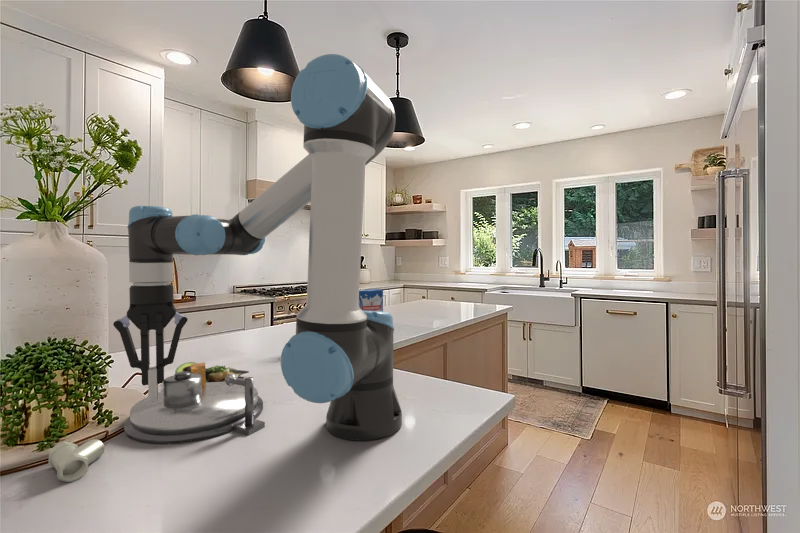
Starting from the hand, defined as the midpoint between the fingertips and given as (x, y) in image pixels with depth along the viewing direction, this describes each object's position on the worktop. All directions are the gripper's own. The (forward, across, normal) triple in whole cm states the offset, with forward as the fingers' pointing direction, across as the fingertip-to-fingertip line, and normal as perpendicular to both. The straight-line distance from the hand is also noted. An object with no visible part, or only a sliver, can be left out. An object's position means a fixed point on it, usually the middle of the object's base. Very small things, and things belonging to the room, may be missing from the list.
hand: (153, 399), depth 81 cm
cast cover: (+1, -5, 0) cm, 5 cm away
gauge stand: (+5, -16, +10) cm, 19 cm away
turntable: (+3, -8, 0) cm, 9 cm away
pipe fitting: (+5, +9, +15) cm, 18 cm away
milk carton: (+5, -70, -54) cm, 88 cm away
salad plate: (+5, -9, -25) cm, 27 cm away
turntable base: (+5, -8, 0) cm, 9 cm away
